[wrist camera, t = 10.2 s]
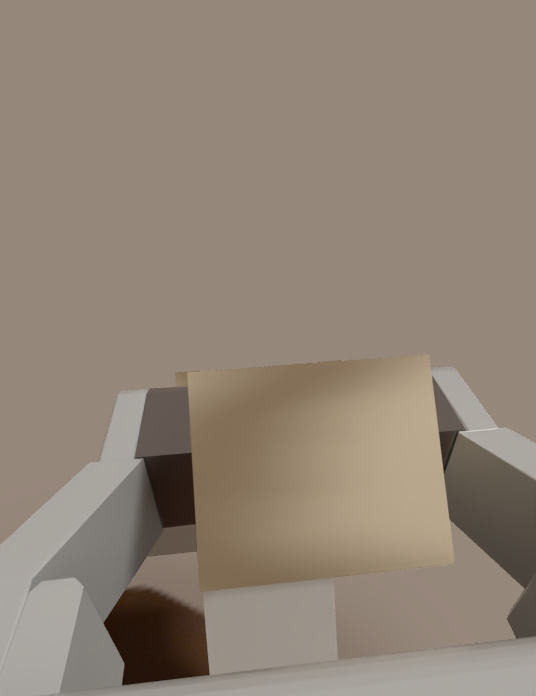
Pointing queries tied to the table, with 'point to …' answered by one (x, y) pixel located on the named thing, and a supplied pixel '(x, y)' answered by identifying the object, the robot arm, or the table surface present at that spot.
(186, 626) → the table surface
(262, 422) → the scoop
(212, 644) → the pedestal shelf
